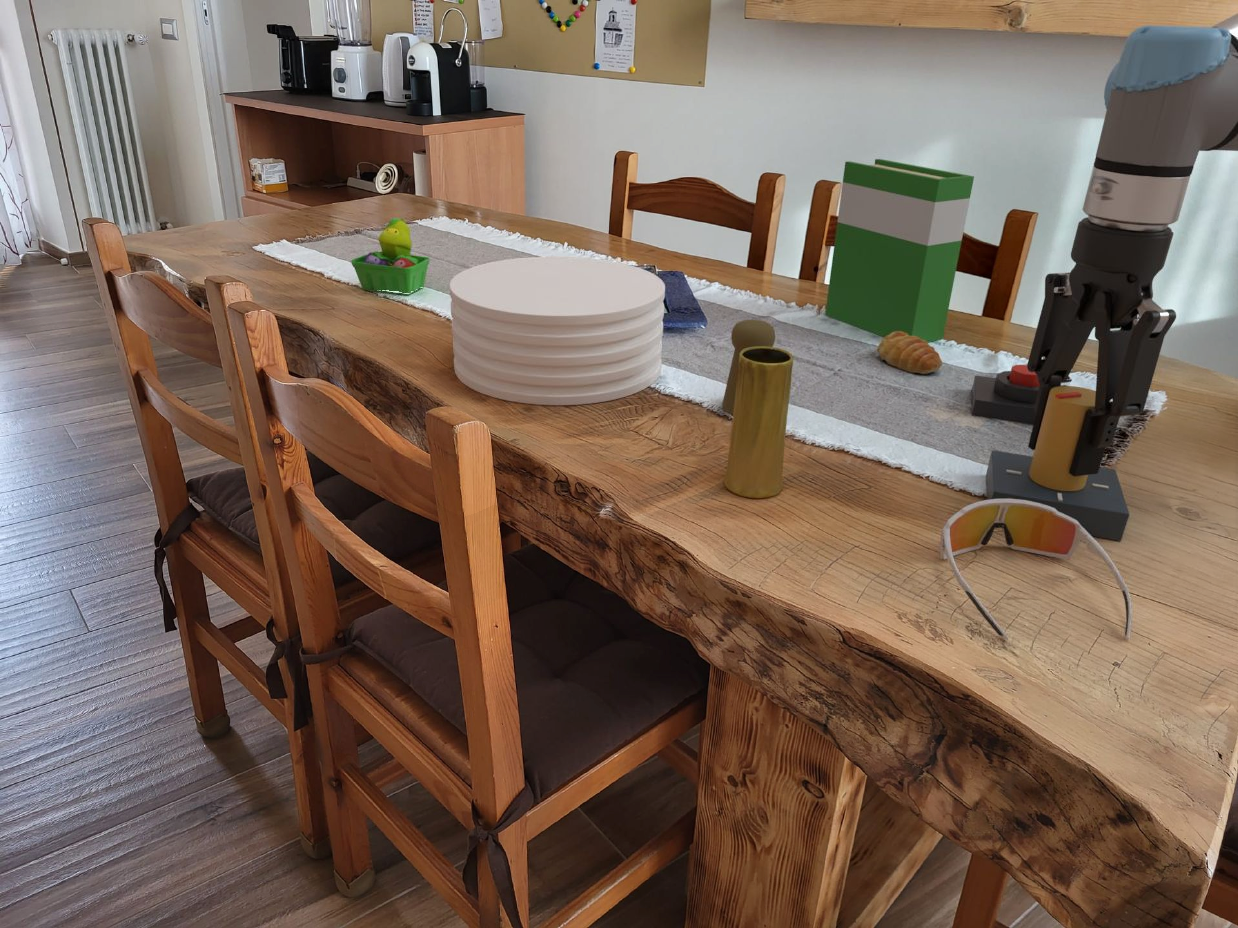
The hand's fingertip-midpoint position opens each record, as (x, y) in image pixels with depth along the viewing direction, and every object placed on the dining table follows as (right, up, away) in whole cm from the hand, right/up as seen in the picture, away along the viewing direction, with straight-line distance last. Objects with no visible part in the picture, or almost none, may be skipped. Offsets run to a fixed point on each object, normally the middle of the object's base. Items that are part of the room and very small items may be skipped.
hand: (1061, 459), depth 90 cm
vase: (-30, -3, +5) cm, 30 cm away
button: (+7, +10, +23) cm, 26 cm away
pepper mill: (-28, +6, +23) cm, 37 cm away
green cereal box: (-2, +21, +54) cm, 58 cm away
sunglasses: (-9, -11, -11) cm, 18 cm away
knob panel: (0, -5, +2) cm, 5 cm away
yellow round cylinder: (0, -2, +1) cm, 2 cm away
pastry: (-3, +14, +39) cm, 42 cm away
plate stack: (-52, +13, +35) cm, 64 cm away
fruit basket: (-82, +29, +66) cm, 109 cm away
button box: (+7, +6, +25) cm, 27 cm away
